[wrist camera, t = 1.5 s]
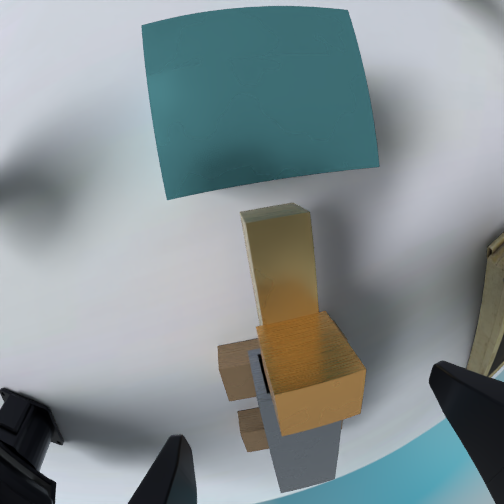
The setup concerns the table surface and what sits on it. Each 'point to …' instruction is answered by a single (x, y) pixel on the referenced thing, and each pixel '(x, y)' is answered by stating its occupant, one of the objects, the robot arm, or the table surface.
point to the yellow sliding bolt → (298, 324)
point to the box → (490, 316)
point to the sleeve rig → (260, 153)
